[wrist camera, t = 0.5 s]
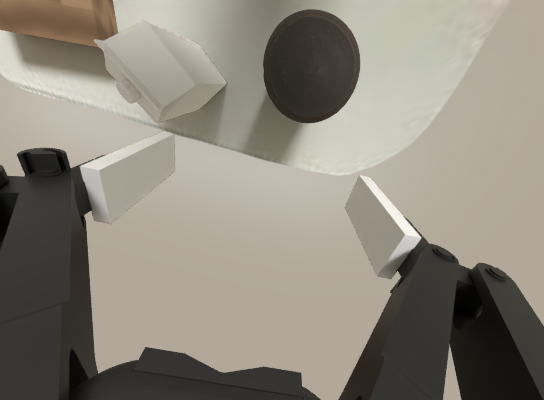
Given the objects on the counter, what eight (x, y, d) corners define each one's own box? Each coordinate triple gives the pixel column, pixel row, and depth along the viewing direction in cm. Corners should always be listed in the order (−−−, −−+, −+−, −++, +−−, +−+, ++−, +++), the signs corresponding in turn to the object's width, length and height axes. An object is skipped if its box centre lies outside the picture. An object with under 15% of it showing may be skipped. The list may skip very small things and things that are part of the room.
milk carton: (198, 43, 34) (116, 7, 18) (227, 83, 37) (180, 85, 20) (169, 73, 36) (74, 67, 20) (199, 109, 39) (136, 130, 22)
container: (283, 112, 38) (281, 138, 21) (265, 56, 34) (245, 32, 17) (330, 94, 37) (371, 106, 19) (317, 33, 33) (354, -22, 15)
